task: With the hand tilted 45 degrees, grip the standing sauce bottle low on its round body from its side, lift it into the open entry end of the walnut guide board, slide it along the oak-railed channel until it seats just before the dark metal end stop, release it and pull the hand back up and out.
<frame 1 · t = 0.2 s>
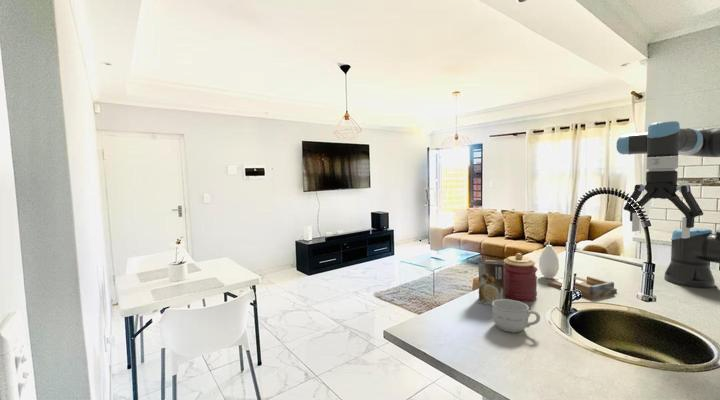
hand: (659, 234, 107), 28 cm above the counter, tool pointing down, fingers open, 13 cm apart
guide board: (580, 288, 135), on the counter
teacup: (514, 330, 103), on the counter
coffee box: (491, 302, 125), on the counter
canister: (518, 296, 130), on the counter
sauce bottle: (548, 278, 149), on the counter
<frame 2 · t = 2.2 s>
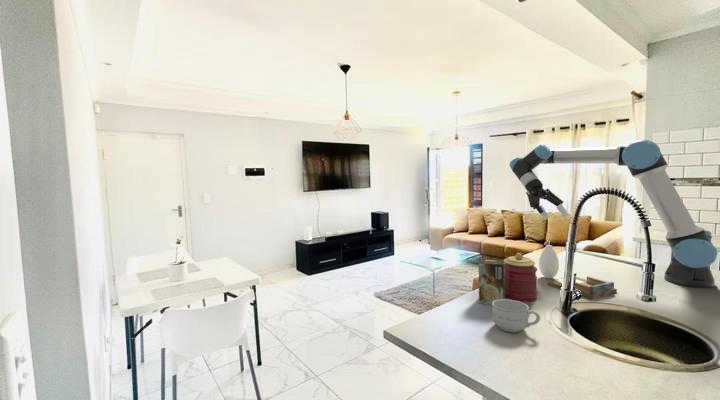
hand: (557, 217, 150), 28 cm above the counter, tool tilted 40°, fingers open, 13 cm apart
nothing on the counter moved.
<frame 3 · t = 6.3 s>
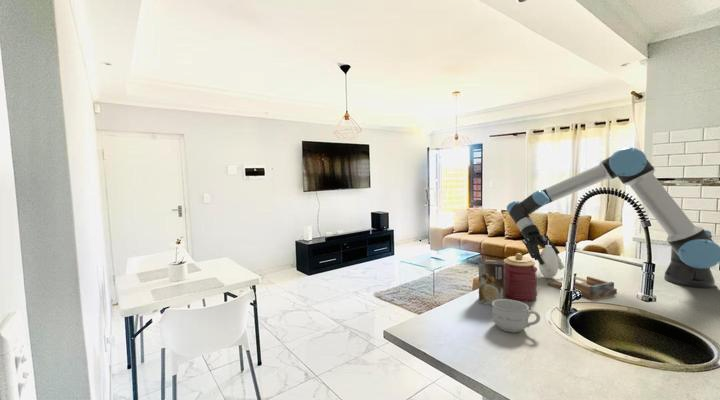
hand: (555, 269, 145), 5 cm above the counter, tool tilted 45°, fingers closed on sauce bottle, 7 cm apart
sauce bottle: (548, 278, 149), on the counter, touching gripper
everything else where it was.
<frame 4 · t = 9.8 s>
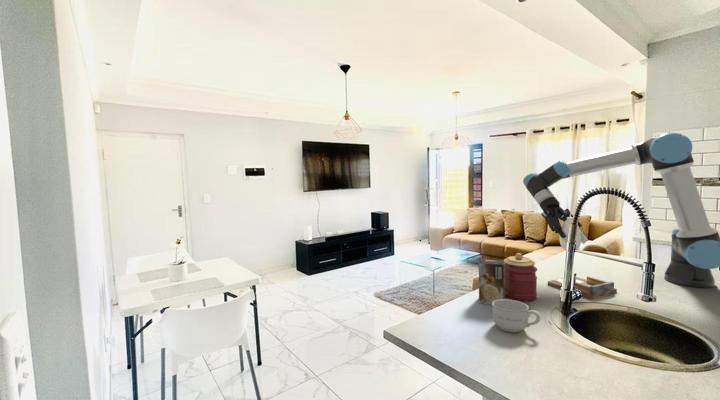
hand: (578, 242, 134), 19 cm above the counter, tool tilted 45°, fingers closed on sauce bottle, 7 cm apart
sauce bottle: (570, 253, 138), point 14 cm above the counter, touching gripper
everything else where it was.
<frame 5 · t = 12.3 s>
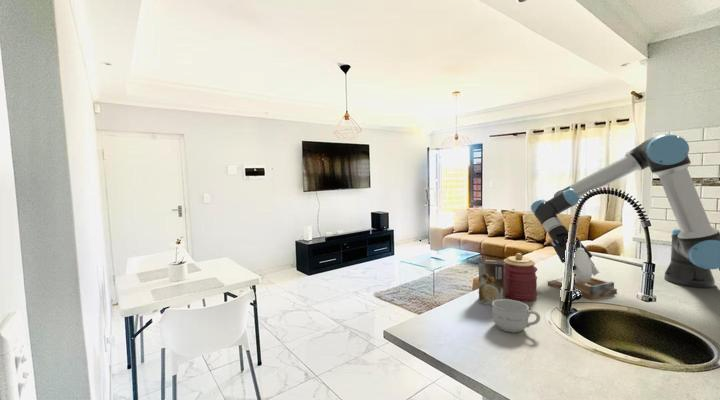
hand: (589, 275, 131), 7 cm above the counter, tool tilted 45°, fingers closed on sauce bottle, 7 cm apart
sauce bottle: (580, 284, 135), point 2 cm above the counter, touching gripper
everything else where it was.
when the fingers open (7 cm above the counter, at t = 13.4 s): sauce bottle stays where it is, resting on guide board.
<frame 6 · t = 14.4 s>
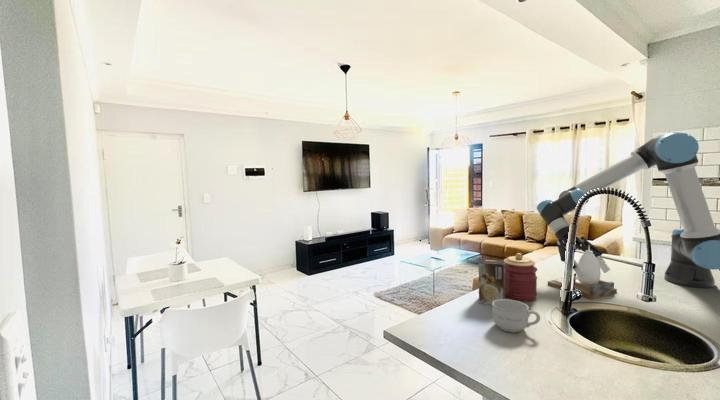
hand: (594, 273, 129), 8 cm above the counter, tool tilted 45°, fingers open, 13 cm apart
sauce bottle: (588, 287, 132), point 1 cm above the counter, touching guide board
everything else where it was.
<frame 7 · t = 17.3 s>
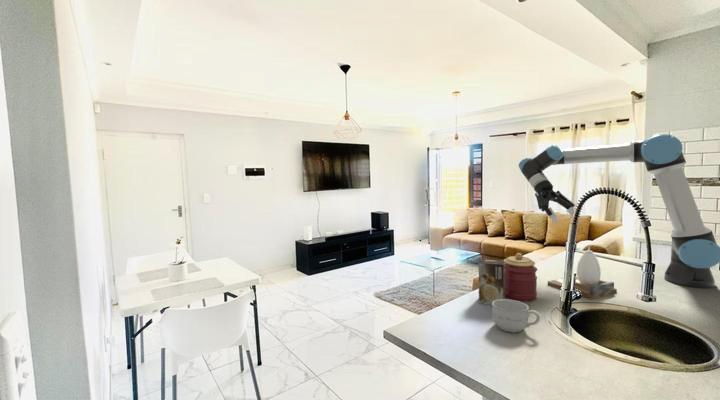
hand: (567, 220, 142), 27 cm above the counter, tool tilted 45°, fingers open, 13 cm apart
nothing on the counter moved.
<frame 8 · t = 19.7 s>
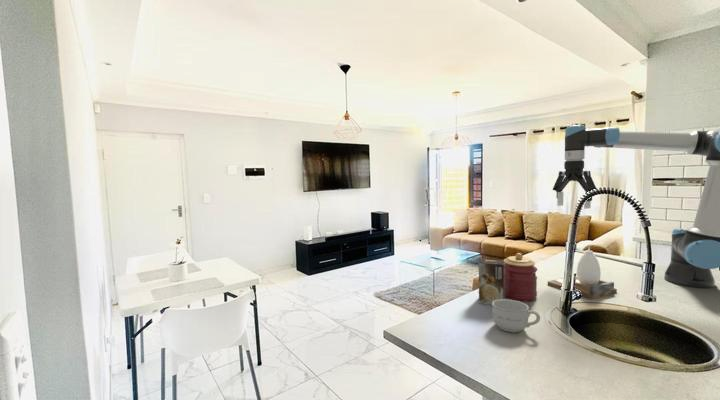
hand: (573, 206, 147), 33 cm above the counter, tool pointing down, fingers open, 13 cm apart
nothing on the counter moved.
at the end: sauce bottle inside the target area on the guide board (0.4 cm from its centre), point 1.3 cm above the guide board's base; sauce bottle tilted 0°; the gripper is holding nothing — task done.
